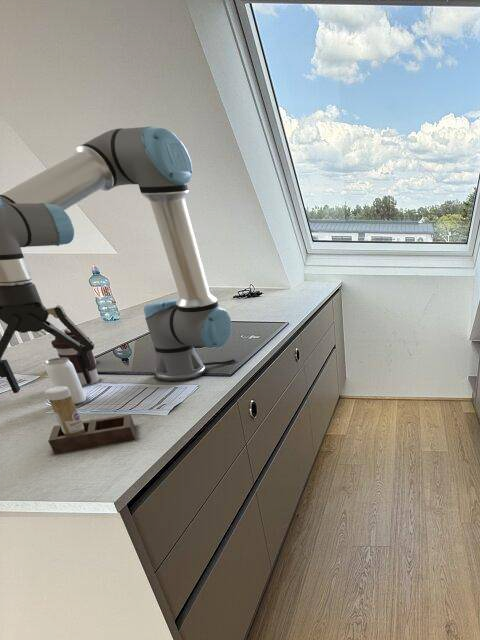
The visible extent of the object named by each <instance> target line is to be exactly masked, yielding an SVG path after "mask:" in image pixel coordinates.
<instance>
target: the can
mask: <svg viewBox="0 0 480 640" xmlns="http://www.w3.org/2000/svg"><path fill="white" fill-rule="evenodd" d="M44 363H45V368H44V369H45V371H46V373H47V376H48V378H49V381H50V382H51V385H52V387H58V386H65V387H68V388H69V390H70V393H71V398H72V400H73V402H74V405H75V406H76V405H79V404H82V403H85V402H86V400H87V396H86V393H85V391H84V388H83V385H81V383H80V381H79V378H78V376H77V373H76V371H75V368H74V366H73V364H72V363H71V362H70V361H69V358H60V357H54V358H50V359H47V360H45V361H44Z"/></svg>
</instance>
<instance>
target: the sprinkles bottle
mask: <svg viewBox="0 0 480 640" xmlns="http://www.w3.org/2000/svg"><path fill="white" fill-rule="evenodd" d="M44 394H45V397H46V399H47V400H48V402H49V404H50V406H51V408H52V411H53V413H54V416H55V418H56V420H57V423H58V425H60V427H61V429H62V432H63V433H64V435H65V436H66V435H72V434H78V433H84V432H86V431H85V429H84V426H83V423H82V422H83V420H82V418H81V416H80V415H79V412H78V410H77V407H76V404H75V405H74V402H73V400H72V398H71V393H70V390H69V388H68V387H65V386H58V387H53V386H52V387H50V388H47V389H45V390H44Z"/></svg>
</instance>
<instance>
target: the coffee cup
mask: <svg viewBox="0 0 480 640" xmlns="http://www.w3.org/2000/svg"><path fill="white" fill-rule="evenodd" d="M64 333H65V332H64ZM65 334H66V335H68V336H69V337H71V338H72V339H74V340H75V341H77V342H78V343H80V344H81V345H83V346H84V344H83V343H82V342H81V341H80V340H79V339H78V338H77V337H76V336H75V335H74V334H73V333H72V332H70V331H69V332H67V333H65ZM87 337H88V338H89V339H90V337H89V336H87ZM50 344H51V346H52V347H53V349H56V351H57V355H58V358H69V361H70V362H71V363H72V364H73V366H74V368H75V371H76V373H77V376H78V378H79V381H80V383H81V386H88V385H89V386H90V385H93V384H96V383H98V382H99V381H100V377H99V373H98V370H97V362H96V363H95V360H96V359H95V360H94V357H95V356H94V354H93V350H90V351H88V352H87V353H88V356H89V359H90V362H91V368H87V369H88V371H89V374H90V377H91V380H92V381H91V384H87V383H86V380H85V377H84V375H83V372H82V369H81V367H80V364H79V362H78V359H77V356H76V354H77V351H76V350H74V349H73V348H71V347H70V346H68V345H67V344H65V343H64V342H62V341H61V340H59V339H58V338H56V337H55V336H54V339H53V340H51V341H50ZM93 356H94V357H93Z"/></svg>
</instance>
